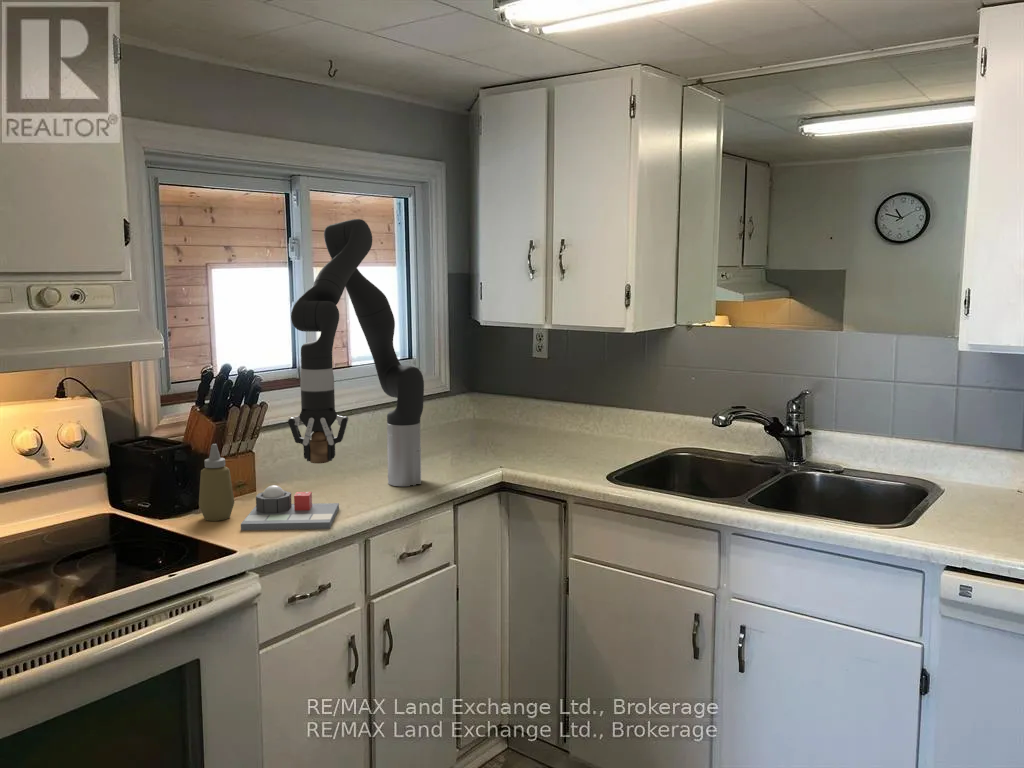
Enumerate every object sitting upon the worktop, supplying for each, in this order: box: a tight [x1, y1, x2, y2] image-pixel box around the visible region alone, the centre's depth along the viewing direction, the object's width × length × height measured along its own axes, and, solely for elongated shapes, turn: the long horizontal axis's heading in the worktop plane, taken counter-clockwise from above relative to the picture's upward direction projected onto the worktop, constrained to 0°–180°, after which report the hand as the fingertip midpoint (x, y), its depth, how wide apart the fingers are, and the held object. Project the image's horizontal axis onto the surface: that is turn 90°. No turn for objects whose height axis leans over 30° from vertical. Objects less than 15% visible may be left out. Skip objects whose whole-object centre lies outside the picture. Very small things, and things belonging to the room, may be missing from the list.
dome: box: [263, 484, 285, 498], centre depth 197 cm, size 5×5×5 cm
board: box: [240, 490, 340, 531], centre depth 193 cm, size 20×16×5 cm
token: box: [309, 431, 330, 464], centre depth 188 cm, size 4×4×7 cm
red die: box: [293, 491, 313, 510], centre depth 197 cm, size 4×4×4 cm
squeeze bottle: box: [198, 443, 235, 522], centre depth 193 cm, size 8×8×18 cm
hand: (319, 460), depth 189 cm, fingers closed on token, 4 cm apart
